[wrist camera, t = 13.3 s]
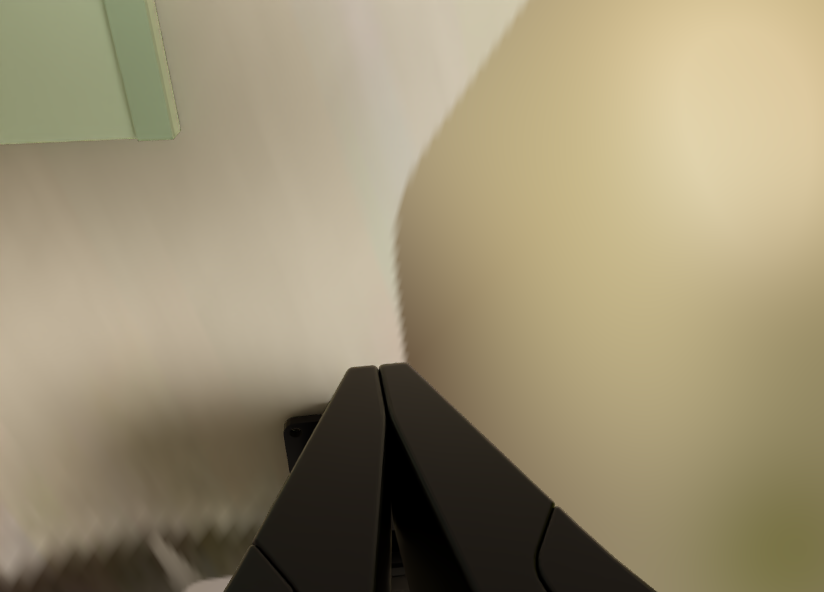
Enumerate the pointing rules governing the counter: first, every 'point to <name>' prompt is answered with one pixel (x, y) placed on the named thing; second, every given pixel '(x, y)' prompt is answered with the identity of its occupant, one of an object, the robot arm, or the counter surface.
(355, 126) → the counter surface
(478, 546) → the robot arm
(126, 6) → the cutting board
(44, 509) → the counter surface
